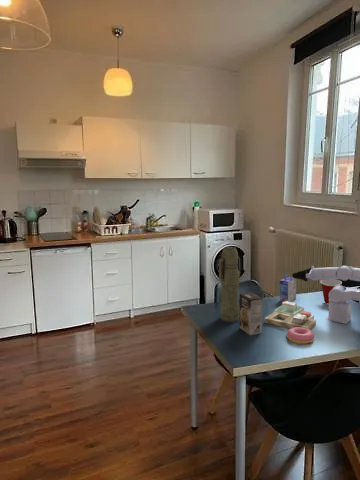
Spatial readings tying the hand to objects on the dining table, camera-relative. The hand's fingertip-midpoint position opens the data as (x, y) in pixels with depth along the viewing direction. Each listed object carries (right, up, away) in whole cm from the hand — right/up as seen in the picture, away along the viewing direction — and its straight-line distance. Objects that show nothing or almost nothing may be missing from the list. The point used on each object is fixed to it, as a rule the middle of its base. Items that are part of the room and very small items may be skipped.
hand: (295, 274), depth 180 cm
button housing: (+2, -21, -8) cm, 22 cm away
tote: (-3, -19, +1) cm, 20 cm away
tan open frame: (-7, -22, -13) cm, 26 cm away
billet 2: (-3, -22, -16) cm, 27 cm away
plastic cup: (+24, -17, +16) cm, 33 cm away
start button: (+2, -19, -8) cm, 21 cm away
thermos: (-33, -21, -5) cm, 39 cm away
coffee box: (-26, -23, -19) cm, 40 cm away
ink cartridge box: (+3, -16, +21) cm, 27 cm away
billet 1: (-3, -19, +1) cm, 19 cm away
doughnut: (-7, -24, -29) cm, 39 cm away
